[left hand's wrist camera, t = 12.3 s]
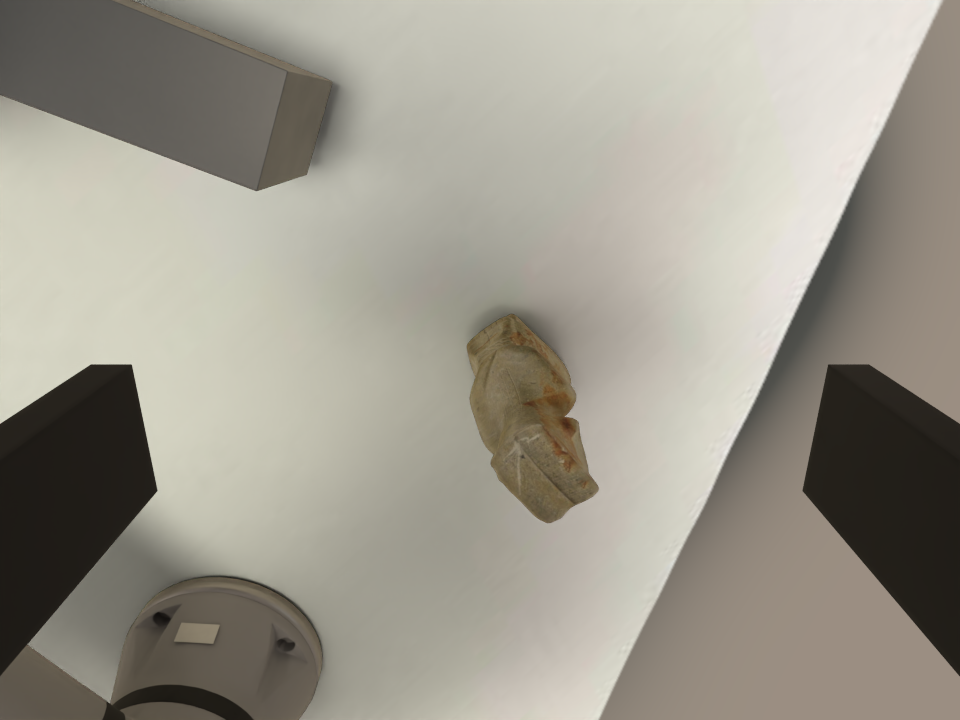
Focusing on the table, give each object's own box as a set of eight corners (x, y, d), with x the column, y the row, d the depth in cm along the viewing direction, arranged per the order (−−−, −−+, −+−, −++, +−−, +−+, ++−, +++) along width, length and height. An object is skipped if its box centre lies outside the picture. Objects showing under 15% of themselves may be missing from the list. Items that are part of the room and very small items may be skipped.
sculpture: (511, 417, 46) (524, 553, 32) (450, 337, 44) (437, 444, 30) (582, 373, 45) (628, 494, 31) (524, 289, 42) (545, 377, 28)
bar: (332, 81, 36) (288, 71, 27) (306, 174, 37) (256, 191, 29) (-80, -85, 33) (-269, -153, 25) (-88, 24, 35) (-267, -6, 26)
